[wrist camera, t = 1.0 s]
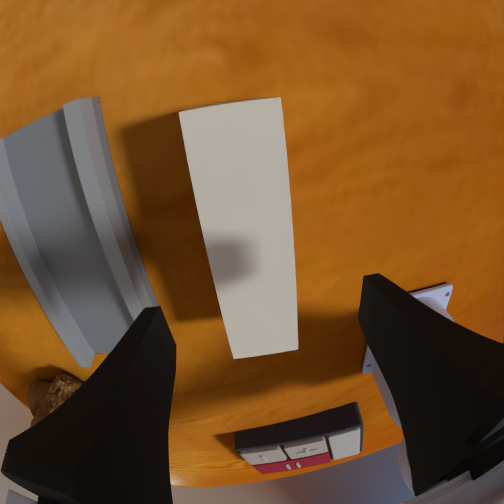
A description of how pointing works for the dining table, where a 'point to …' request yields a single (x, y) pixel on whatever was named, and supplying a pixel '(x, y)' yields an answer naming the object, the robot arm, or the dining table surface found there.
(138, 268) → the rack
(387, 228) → the dining table surface
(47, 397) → the stuffed squirrel
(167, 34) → the dining table surface
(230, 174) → the white rectangular block
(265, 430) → the calculator
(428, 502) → the robot arm
